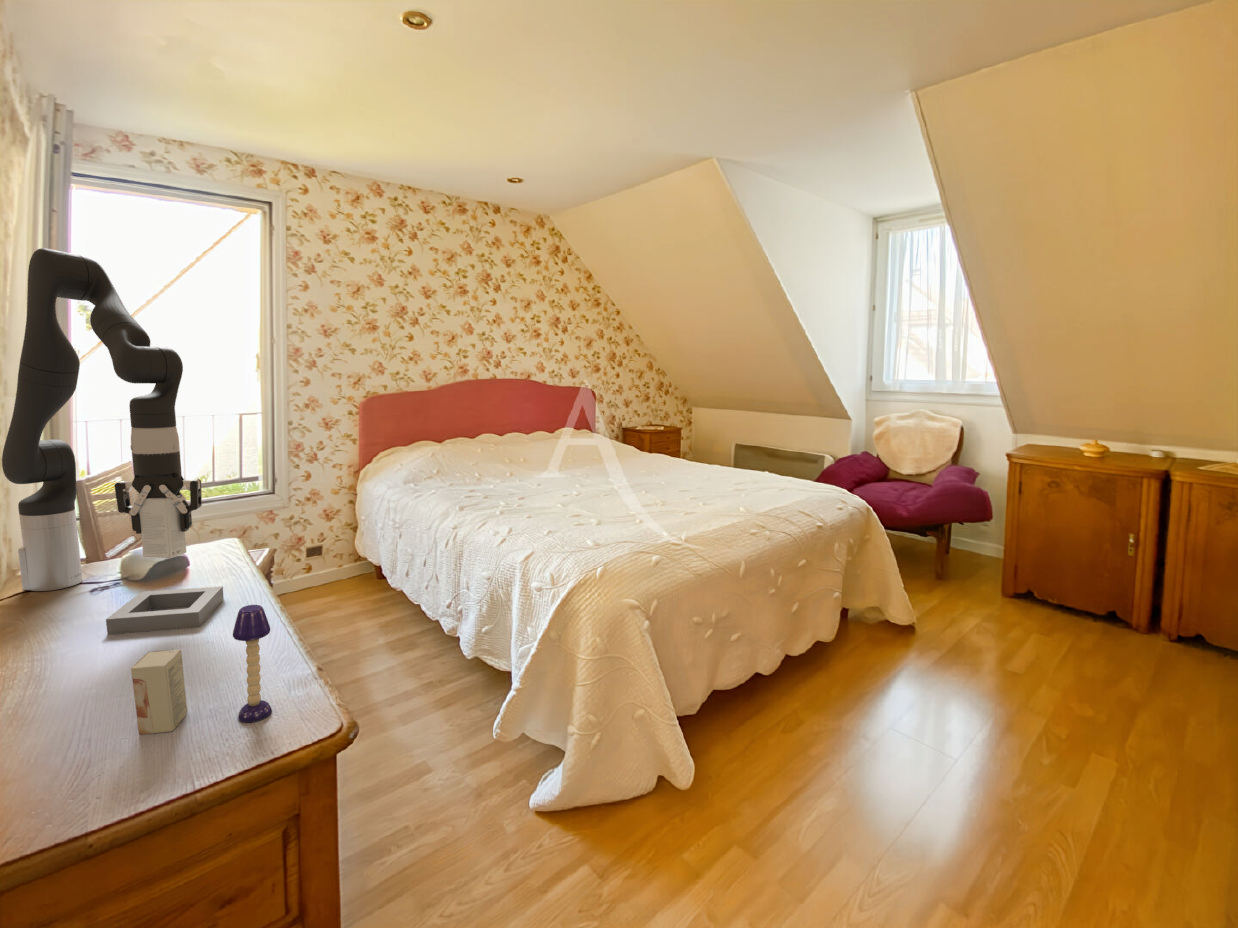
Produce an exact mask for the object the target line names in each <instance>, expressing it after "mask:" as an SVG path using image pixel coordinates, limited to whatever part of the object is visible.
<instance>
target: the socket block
mask: <svg viewBox="0 0 1238 928" xmlns="http://www.w3.org/2000/svg"><path fill="white" fill-rule="evenodd" d="M224 597H225V596H224V586H221V585H220V586H209V587H206V586H205V587H194V588H193V587H191V588H181V589H180V588H178V589H164V590H149V591H148V590H146V591H141V592H139V593H138V594H137V595H135V596H134V597H133V598H131V599H130V600H129V601H127V602H126V603H125V604H123V605H122V606H121V607H120V608H118V609H117V610H116V611H115V612H114V613H112V614H111V615H109V616H108V617H107V618H105V623H106V625H105V626H106V633H107V635H119V634H126V633H127V634H128V633H138V632H139V633H141V632H151V631H163V630H176V629H187V628H197V627H198V628H200V627H201V626H202V625H203V624H204V622H205V621H206V620H208V618H209V616H211V615H212V614H213V613H214V611H215V610H216V609H217V608H218V607H219V605H220V604H221V603H222V602H223V601H224V600H225V598H224ZM179 607H188V608H179ZM164 608H165V610H163V609H164ZM166 608H177V609H166ZM153 609H162V610H153ZM152 610H153V611H152Z"/></svg>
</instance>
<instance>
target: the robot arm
mask: <svg viewBox="0 0 1238 928" xmlns="http://www.w3.org/2000/svg"><path fill="white" fill-rule="evenodd" d="M115 288H116V287H114V285H113V283H112V281H111V279H110V278H109V275H108V273H107V272H106V271H105V269H104V268H103V266H102V265H101V264H100V263H99V262H98V261H97V260H95V259H94V258H91V257H88V256H85V255H81V254H75V253H70V252H65V251H62V250H61V251H59V250H55V249H52V248H44V247H41V248H38V249H36V250H35V251H34V252H33V253H32V254H31V257H30V259H29V264H28V269H27V293H26V295H27V297H26V318H25V319H26V322H25V329H24V336H23V343H22V348H21V354H20V358H19V365H18V373H17V384H16V385H17V386H16V393H15V399H14V400H15V401H14V407H13V412H12V417H11V420H10V423H9V424H10V425H9V427H8V430H7V435H6V438H5V442H4V445H3V449H2V456H1V468H2V471H3V474H4V476H5V477H6V479H7V480H8V481H9V482H11V483H12V484H15V485H28V484H30V485H31V484H37V483H38V484H39V483H42V486H41V487H40V488H39V489H38V490H37V491H35V493H32V494H30V495H28V496H26V497H24V498H23V499H21V500H19V502H18V505H17V506H18V507H17V508H18V516H19V524H20V525H19V526H20V532H21V540H22V541H21V542H22V547H19V548H18V550H17V553H18V561H19V569H20V577H21V578H20V579H21V586H22V587H21V588H22V591H31V592H32V591H33V592H48V591H57V590H61V589H65V588H66V589H67V588H69V587H73V586H75V585H78V584H80V583H82V582H83V571H82V563H81V561H82V560H81V553H80V552H81V551H80V544H79V543H80V541H79V534H78V533H79V532H78V525H77V514H76V499H77V465H76V464H77V463H76V458H75V454H74V450H73V449H72V447H71V445H69V444H70V443H69V444H68V443H67V442H66V441H65V440H63V439H56V438H55V439H42V438H41V437H42V434H43V432H44V429H45V427H46V426H47V424H48V423H49V422H50V420H51V419H52V418H53V417H54V416H55V415H56V414H57V413H58V412H59V411H60V410H61V409H62V408H63V407H64V406H65V405H66V404H67V403H68V401H69V400H70V399H71V398H72V396H73V395H74V393H75V392H76V389H77V384H78V379H79V373H80V367H81V361H80V358H79V356H78V353H77V351H76V350H75V348H74V346H73V345H72V344H71V342H70V340H69V339H68V338H67V336H66V334H65V333H64V331H63V330H62V328H61V325H60V323H59V320H58V318H57V312H56V310H57V309H56V307H57V306H56V304H57V303H56V302H57V298H61V299H62V298H63V299H66V300H75V301H87V302H89V303H91V304H92V305H94V307H93V309H92V311H91V313H90V318H89V319H90V320H89V321H90V327H91V329H92V331H93V333H94V334H95V335H96V336H97V338H98V339H99V340H100V341H101V343H103V345H104V346H105V347H106V349H107V350H108V353H109V356H110V359H111V361H112V366H113V370H114V373H115V374H116V376H117V377H118V378H120V379H121V380H123V381H125V382H126V383H130V384H155V385H154V387H153V389H152V391H151V392H150V393H148V394H144V395H139V396H135V397H133V398H131V399H130V400H129V415H130V416H129V418H130V427H131V431H130V432H131V433H130V451H131V457H132V468H133V476H134V477H133V480H130V481H129V480H128V481H126V480H120V481H118V482H116V483H114V492H115V497H116V506H117V511H118V513H120V514H121V513H122V514H123V513H124V514H128V515H130V518H131V519H130V520H131V528H132V531H133V532H135V534H137V535H141V526H140V514H139V510H140V508H141V506H142V505H143V503H144V501H145V499H146V498H171V499H172V498H173V499H172V504H173V505H175V506H176V507H177V508H178V509H179V511H180V512H181V514H180V523H181V531H182V532H185V533H186V532H188V531H189V530H190V528H192V526H193V518H192V512H193V511H197V510H198V509H199V508H201V507H202V505H203V504H202V503H203V501H202V500H203V499H202V498H203V497H202V480H201V479H200V478H195V479H185V478H184V477H183V475H182V463H181V449H180V439H179V438H180V437H179V433H178V428H177V419H176V402H177V397H178V392H179V389H180V384H181V381H182V377H183V372H184V371H183V370H184V366H183V362H182V359H181V356H180V355H179V354H178V352H177V351H176V350H174V349H172V348H170V347H162V346H161V347H160V346H151V338H150V336H149V335H148V333H147V332H146V331H145V330H144V329H143V327H142V326H141V325H140V324H139V323H138V321H137V320H136V319H135V318H134V316H132V314H131V313H130V312H129V311H128V309H127V308H126V307H125V305H124V303H123V301H122V299H121V297H120V295H119V294H118V292H117V290H116V289H115ZM183 487H186V490H187V491H189V497H190V499H189V500H190V502H188V501H187V499H186V497H185V496H184V494H183V493H182V492H181V490H182V489H183ZM132 488H133V489H134V490H135V491H136V492H137V493H138V494H139V495H138V496H137V498H136V499H135V501H134V504H133V505H131V497H130V492H131V491H132ZM176 496H182V497H181V498H177V497H176Z"/></svg>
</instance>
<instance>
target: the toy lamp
mask: <svg viewBox="0 0 1238 928" xmlns="http://www.w3.org/2000/svg"><path fill="white" fill-rule="evenodd" d="M264 609H265V608H264V607H263V606H262V605H260V604H249V605H245V606H243V607H241V608H239V610H238V612H237V616H236V619H235V622H234V626H233V630H232V637H233V639H234V640H236V641H239V642H240V641H241V642H245V644H246V647H245V653H246V665H247V666H246V673H247V677H246V684H247V687H246V692H247V697H246V698H247V700H246V701H247V703H246V704H243V706H242V707H241V709H240V710H239V712H238V714H237V715H238V717H237V718H238V719H237V720H239V722H240V723H241V722H242V723H256V722H259V721H262V720H265V719H266V718H268V717H269V716H271V714H272V712H273V709H272V707H271V705H270V703H269V702H267V701H266V700H262V699H261V698H262V697H261V696H262V695H261V687H262V685H261V684H260V683H261V679H262V678H261V674H260V673H261V665H260V662H261V657H260V650H261V649H260V644H259V642H260V639H262V638H265V637H266V636H268V635H269V634H270V632H271V627H270V623H269V620H268V618H267V614H266V612H265V610H264Z"/></svg>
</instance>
